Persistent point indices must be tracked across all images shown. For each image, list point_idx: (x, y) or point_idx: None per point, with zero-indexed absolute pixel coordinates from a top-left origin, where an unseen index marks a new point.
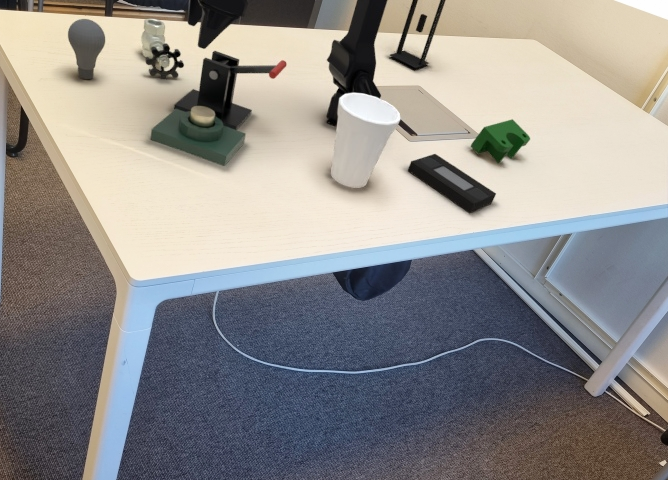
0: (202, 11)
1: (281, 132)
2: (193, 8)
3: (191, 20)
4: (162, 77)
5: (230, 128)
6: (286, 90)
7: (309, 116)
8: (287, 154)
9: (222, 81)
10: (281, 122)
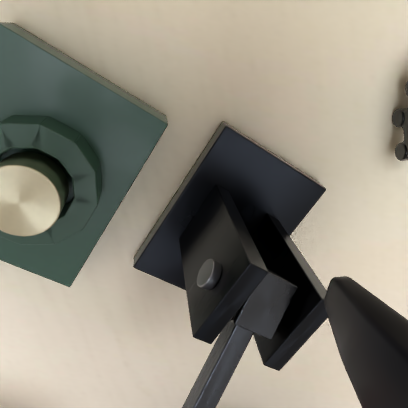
0: (371, 404)
1: (163, 347)
2: (389, 368)
3: (341, 306)
4: (399, 115)
5: (85, 255)
6: None
7: (246, 402)
8: (62, 347)
9: (195, 289)
10: (209, 353)
